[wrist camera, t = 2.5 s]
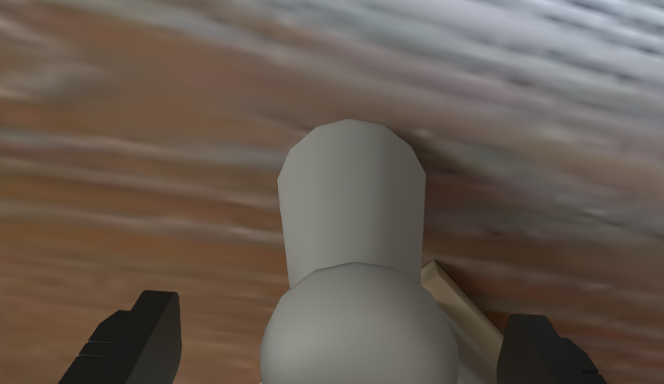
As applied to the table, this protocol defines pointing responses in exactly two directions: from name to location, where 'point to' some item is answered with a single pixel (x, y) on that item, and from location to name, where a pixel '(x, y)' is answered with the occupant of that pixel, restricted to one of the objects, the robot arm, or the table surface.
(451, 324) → the caddy
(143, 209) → the table surface
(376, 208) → the salt shaker
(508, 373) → the robot arm
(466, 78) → the table surface
